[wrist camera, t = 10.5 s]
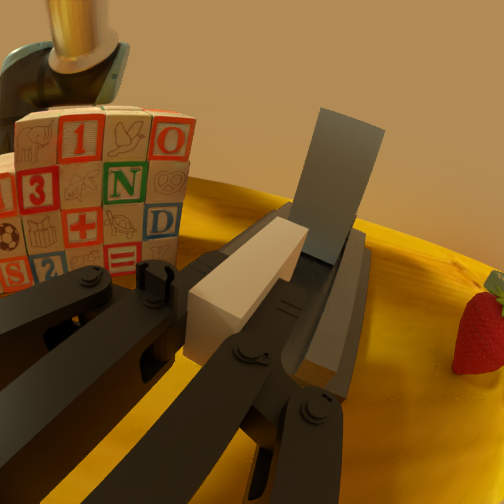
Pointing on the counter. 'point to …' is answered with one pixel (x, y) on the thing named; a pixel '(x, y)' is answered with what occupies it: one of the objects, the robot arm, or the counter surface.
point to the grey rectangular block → (334, 181)
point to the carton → (495, 281)
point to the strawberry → (481, 335)
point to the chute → (323, 310)
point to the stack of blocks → (91, 191)
